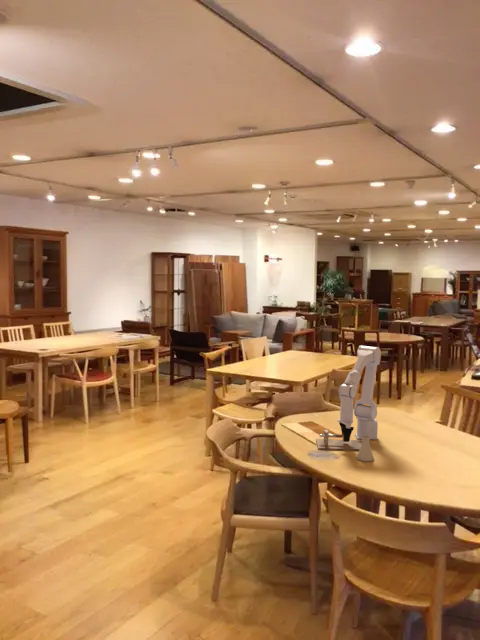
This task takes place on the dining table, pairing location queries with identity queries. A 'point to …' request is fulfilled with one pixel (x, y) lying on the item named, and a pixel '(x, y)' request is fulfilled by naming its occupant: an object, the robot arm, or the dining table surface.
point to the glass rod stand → (332, 436)
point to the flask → (365, 450)
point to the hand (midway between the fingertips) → (345, 439)
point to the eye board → (337, 444)
